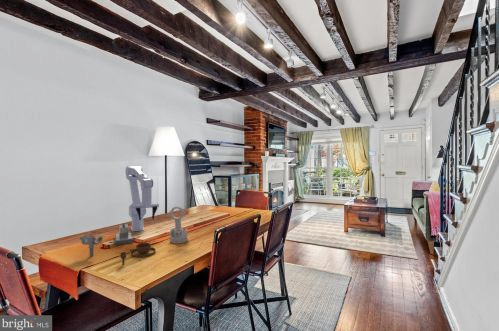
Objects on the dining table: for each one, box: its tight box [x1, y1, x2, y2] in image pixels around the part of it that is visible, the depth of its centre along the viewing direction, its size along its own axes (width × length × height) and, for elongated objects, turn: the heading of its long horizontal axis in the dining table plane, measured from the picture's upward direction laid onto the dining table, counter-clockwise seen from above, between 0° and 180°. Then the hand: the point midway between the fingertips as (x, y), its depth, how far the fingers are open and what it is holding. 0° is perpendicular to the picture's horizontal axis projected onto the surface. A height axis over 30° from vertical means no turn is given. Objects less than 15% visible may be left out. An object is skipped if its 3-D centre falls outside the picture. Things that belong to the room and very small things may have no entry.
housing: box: [118, 223, 129, 238], centre depth 150 cm, size 8×4×7 cm, turn 28°
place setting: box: [119, 242, 157, 266], centre depth 128 cm, size 18×20×6 cm
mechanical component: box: [79, 234, 103, 258], centre depth 126 cm, size 3×10×10 cm, turn 89°
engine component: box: [169, 205, 188, 244], centre depth 153 cm, size 11×20×10 cm
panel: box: [114, 231, 134, 246], centre depth 151 cm, size 14×9×2 cm, turn 28°
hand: (146, 219), depth 160 cm, fingers open, 7 cm apart
